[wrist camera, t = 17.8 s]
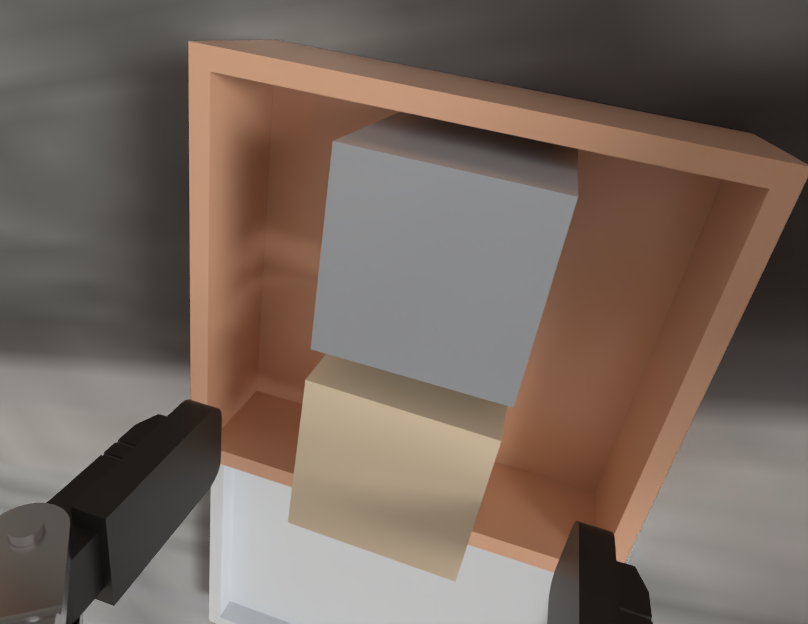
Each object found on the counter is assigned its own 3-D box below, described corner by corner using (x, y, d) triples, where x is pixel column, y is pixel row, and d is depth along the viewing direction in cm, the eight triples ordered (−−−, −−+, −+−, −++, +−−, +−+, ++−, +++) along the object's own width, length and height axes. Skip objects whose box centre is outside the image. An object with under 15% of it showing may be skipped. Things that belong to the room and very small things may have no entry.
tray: (634, 502, 19) (638, 530, 18) (539, 711, 24) (537, 743, 23) (230, 381, 21) (211, 399, 20) (223, 596, 26) (209, 620, 25)
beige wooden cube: (522, 331, 16) (501, 440, 12) (485, 449, 18) (455, 581, 14) (376, 289, 17) (305, 379, 12) (355, 408, 19) (287, 522, 14)
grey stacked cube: (577, 145, 14) (577, 197, 10) (531, 304, 16) (513, 407, 11) (406, 108, 15) (332, 141, 10) (381, 265, 16) (310, 349, 12)
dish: (752, 133, 14) (812, 167, 10) (604, 487, 19) (611, 591, 15) (275, 39, 16) (188, 41, 12) (256, 383, 21) (191, 454, 17)
